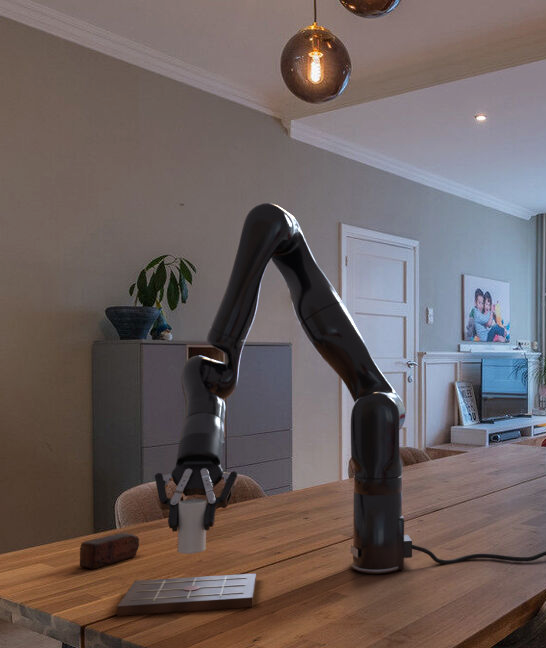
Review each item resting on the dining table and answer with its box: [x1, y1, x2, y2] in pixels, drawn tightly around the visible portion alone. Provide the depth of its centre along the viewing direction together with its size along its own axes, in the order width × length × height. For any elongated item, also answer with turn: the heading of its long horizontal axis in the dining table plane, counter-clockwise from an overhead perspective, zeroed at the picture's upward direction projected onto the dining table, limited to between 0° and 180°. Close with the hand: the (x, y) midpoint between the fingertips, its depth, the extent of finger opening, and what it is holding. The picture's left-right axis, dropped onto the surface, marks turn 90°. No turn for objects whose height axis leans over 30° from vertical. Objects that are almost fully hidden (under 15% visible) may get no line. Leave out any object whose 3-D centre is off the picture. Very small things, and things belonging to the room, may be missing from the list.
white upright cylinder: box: [177, 498, 208, 555], centre depth 120 cm, size 4×4×8 cm
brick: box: [79, 532, 140, 570], centre depth 140 cm, size 11×4×5 cm, turn 157°
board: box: [116, 573, 257, 617], centre depth 119 cm, size 20×13×2 cm, turn 102°
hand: (190, 527), depth 118 cm, fingers closed on white upright cylinder, 4 cm apart
